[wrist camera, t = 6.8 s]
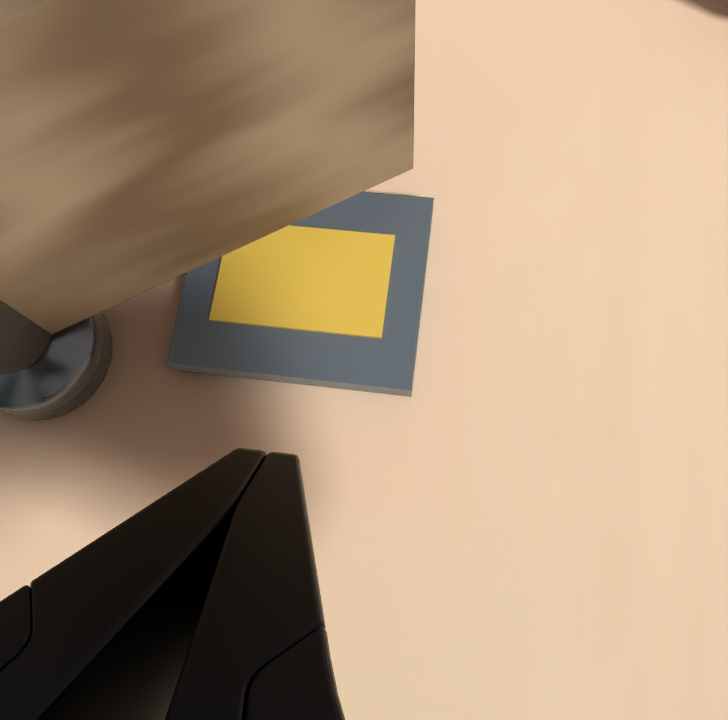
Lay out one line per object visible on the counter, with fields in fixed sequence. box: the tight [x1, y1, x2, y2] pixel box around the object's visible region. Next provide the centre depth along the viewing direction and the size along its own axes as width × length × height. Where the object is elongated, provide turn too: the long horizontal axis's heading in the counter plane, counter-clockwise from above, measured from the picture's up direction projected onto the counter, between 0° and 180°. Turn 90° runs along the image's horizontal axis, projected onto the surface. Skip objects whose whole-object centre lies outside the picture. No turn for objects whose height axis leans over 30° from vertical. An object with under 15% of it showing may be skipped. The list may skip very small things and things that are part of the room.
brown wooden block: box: [0, 0, 415, 374], centre depth 15 cm, size 13×7×10 cm, turn 116°
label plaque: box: [167, 192, 434, 397], centre depth 20 cm, size 7×6×1 cm
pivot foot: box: [0, 312, 112, 420], centre depth 20 cm, size 4×4×2 cm
